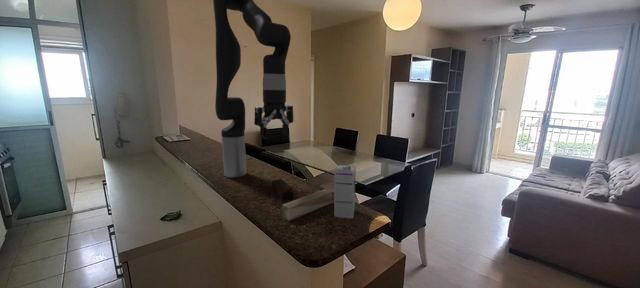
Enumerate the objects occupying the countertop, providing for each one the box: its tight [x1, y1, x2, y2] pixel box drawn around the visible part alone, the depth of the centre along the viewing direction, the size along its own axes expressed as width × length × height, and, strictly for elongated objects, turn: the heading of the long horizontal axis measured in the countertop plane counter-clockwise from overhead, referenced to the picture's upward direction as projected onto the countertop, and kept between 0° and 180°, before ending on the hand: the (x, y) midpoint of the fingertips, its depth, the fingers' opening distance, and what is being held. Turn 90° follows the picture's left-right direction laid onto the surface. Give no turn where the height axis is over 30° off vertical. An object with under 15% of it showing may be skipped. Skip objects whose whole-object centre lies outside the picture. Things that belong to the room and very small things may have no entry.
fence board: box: [281, 188, 333, 222], centre depth 82 cm, size 3×18×4 cm, turn 135°
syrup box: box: [333, 164, 356, 220], centre depth 79 cm, size 6×6×14 cm
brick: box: [271, 178, 295, 203], centre depth 92 cm, size 11×4×5 cm, turn 31°
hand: (274, 136), depth 90 cm, fingers open, 8 cm apart
